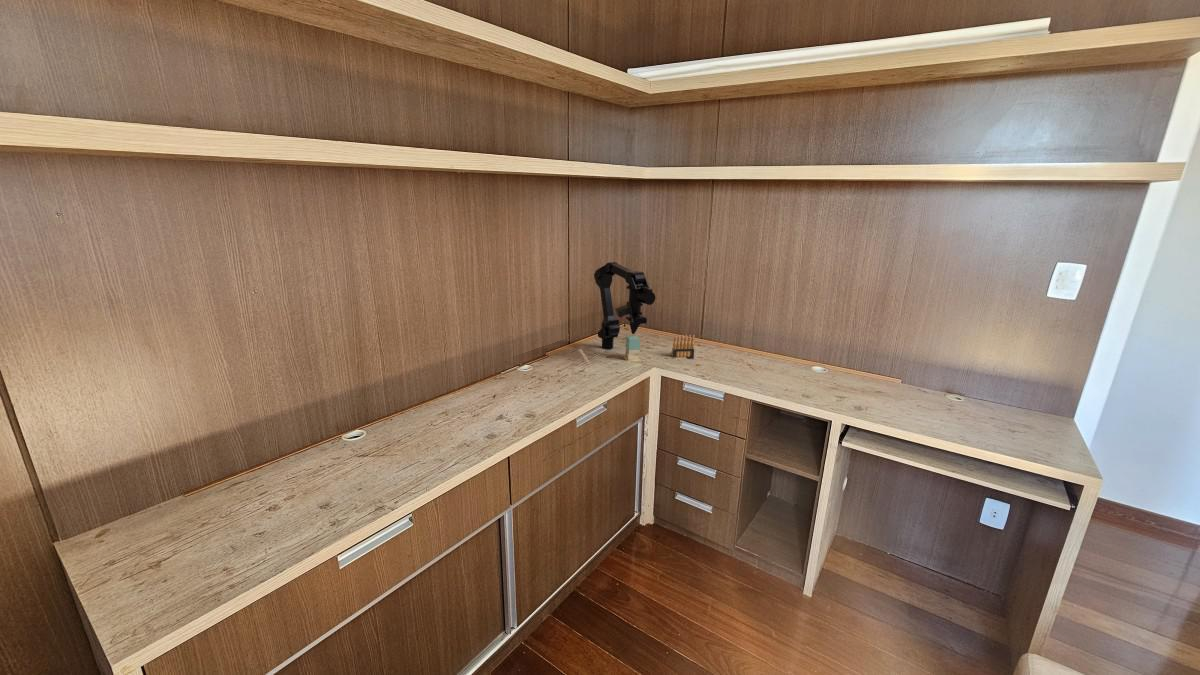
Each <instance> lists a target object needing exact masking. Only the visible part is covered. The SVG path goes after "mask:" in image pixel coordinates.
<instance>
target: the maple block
mask: <svg viewBox="0 0 1200 675" xmlns="http://www.w3.org/2000/svg"><path fill="white" fill-rule="evenodd" d="M624 355H625V356H624V357H626V359H627V360H628V361H627V362H633V361H632V360H639V359H640V350H628V349H627V348H626V347H625V354H624ZM626 359H625V360H626Z"/></svg>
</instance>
